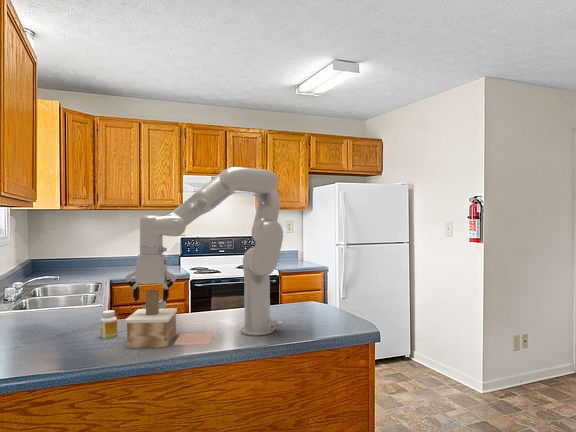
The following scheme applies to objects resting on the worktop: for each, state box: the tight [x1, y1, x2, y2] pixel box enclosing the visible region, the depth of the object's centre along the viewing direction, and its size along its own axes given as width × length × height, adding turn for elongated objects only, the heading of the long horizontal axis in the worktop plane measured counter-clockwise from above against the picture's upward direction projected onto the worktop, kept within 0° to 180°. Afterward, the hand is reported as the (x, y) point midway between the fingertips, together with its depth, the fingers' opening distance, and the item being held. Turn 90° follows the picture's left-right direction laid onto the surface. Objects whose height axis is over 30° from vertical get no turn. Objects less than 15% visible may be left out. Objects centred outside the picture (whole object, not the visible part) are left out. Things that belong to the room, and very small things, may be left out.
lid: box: [124, 289, 178, 324], centre depth 150 cm, size 14×15×9 cm
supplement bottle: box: [100, 309, 118, 340], centre depth 155 cm, size 5×5×10 cm
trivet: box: [172, 333, 214, 346], centre depth 152 cm, size 12×12×1 cm
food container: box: [141, 298, 168, 309], centre depth 169 cm, size 12×6×10 cm, turn 168°
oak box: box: [126, 312, 177, 349], centre depth 150 cm, size 13×14×9 cm
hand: (151, 300), depth 150 cm, fingers open, 9 cm apart
